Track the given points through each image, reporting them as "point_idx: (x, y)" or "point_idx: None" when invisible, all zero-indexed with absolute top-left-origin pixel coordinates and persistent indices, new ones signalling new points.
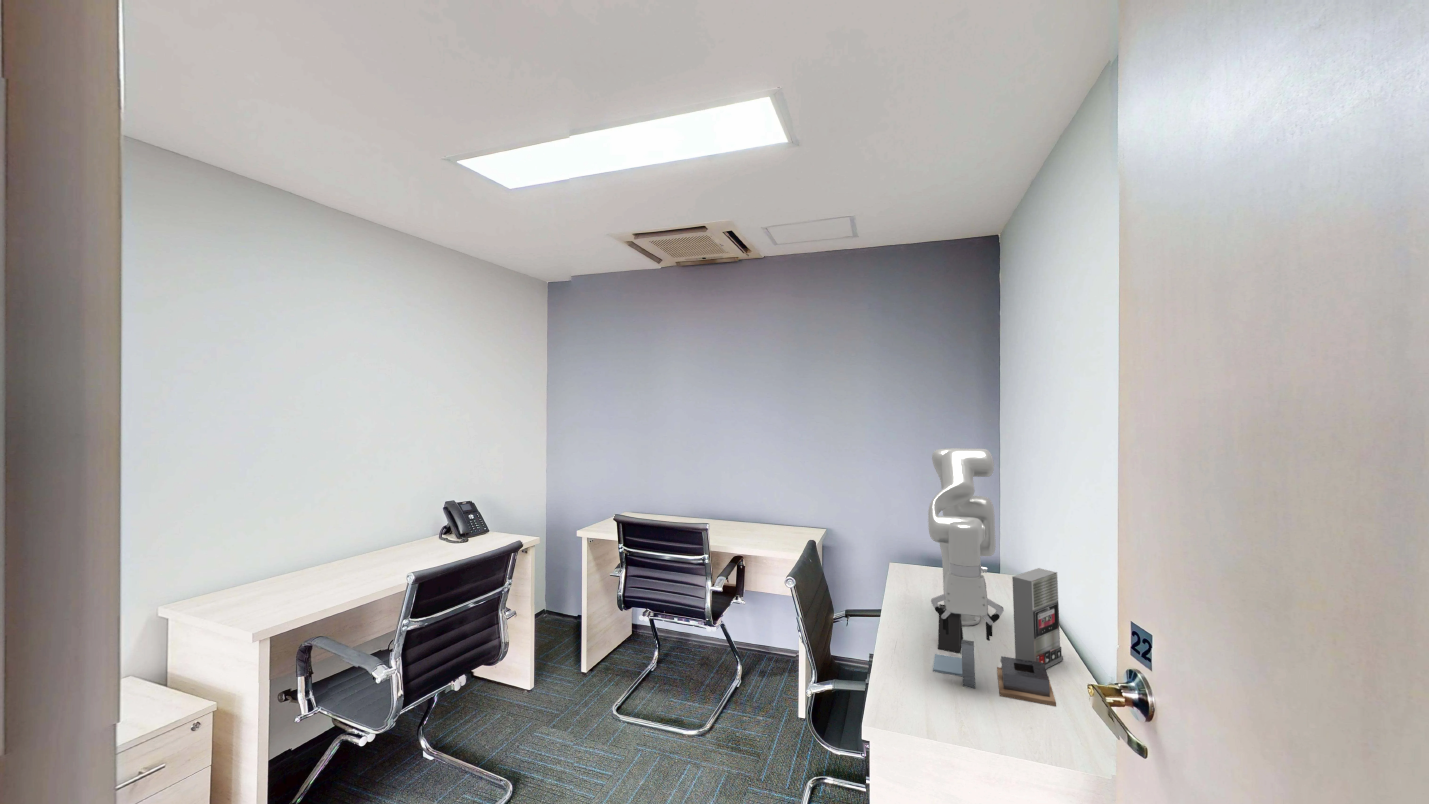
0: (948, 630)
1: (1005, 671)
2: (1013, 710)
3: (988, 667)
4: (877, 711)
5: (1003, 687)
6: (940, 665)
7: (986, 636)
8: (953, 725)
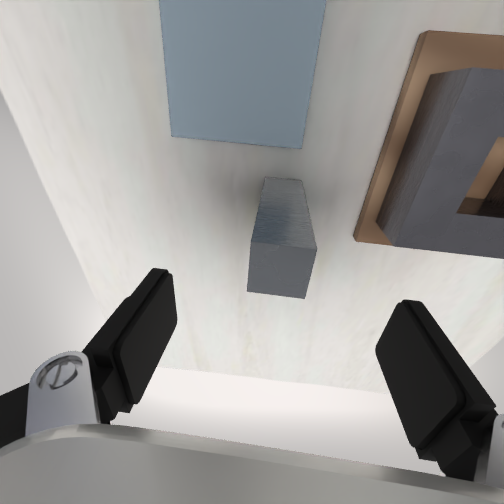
0: (167, 341)
1: (408, 232)
2: (362, 288)
3: (391, 5)
4: None
5: (377, 213)
6: (191, 93)
7: (381, 368)
8: (234, 346)
